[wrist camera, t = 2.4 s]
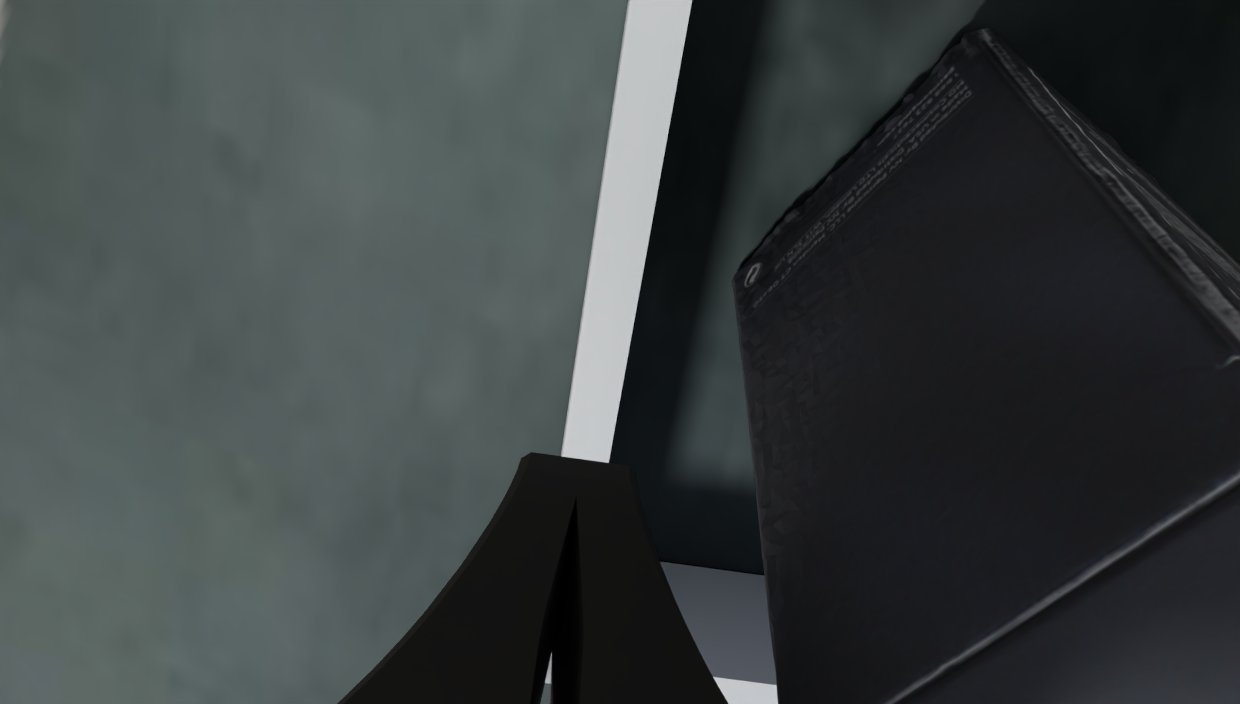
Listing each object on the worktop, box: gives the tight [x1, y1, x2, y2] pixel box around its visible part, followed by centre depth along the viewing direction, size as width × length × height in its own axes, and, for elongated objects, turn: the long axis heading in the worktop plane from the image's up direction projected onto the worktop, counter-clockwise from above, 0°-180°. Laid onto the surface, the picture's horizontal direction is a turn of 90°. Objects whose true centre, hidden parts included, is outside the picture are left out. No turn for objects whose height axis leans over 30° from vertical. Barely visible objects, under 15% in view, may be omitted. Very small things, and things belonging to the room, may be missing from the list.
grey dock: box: [545, 0, 778, 704], centre depth 18 cm, size 16×16×3 cm
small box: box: [732, 28, 1240, 704], centre depth 15 cm, size 11×6×10 cm, turn 52°
